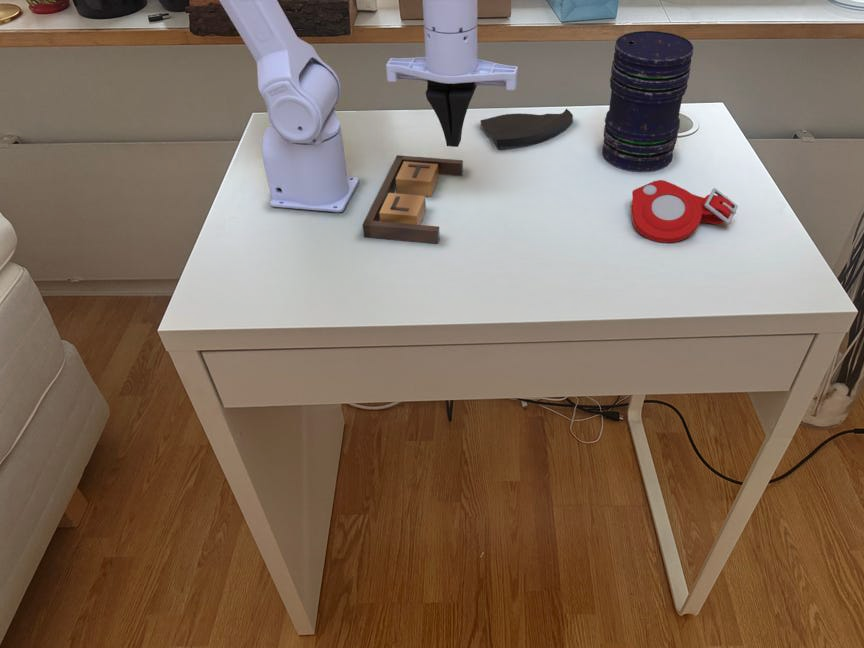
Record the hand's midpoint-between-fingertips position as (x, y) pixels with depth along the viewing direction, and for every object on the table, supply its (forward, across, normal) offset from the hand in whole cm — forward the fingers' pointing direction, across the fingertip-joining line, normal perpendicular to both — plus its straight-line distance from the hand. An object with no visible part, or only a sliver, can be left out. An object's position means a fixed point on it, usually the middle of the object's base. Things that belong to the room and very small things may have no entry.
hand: (453, 142), depth 88 cm
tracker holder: (+8, -28, 0) cm, 29 cm away
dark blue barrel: (+8, -22, -16) cm, 29 cm away
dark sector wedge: (+8, -6, -20) cm, 23 cm away
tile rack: (+8, +5, +1) cm, 10 cm away
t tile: (+8, +6, -3) cm, 10 cm away
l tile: (+8, +6, +5) cm, 11 cm away
